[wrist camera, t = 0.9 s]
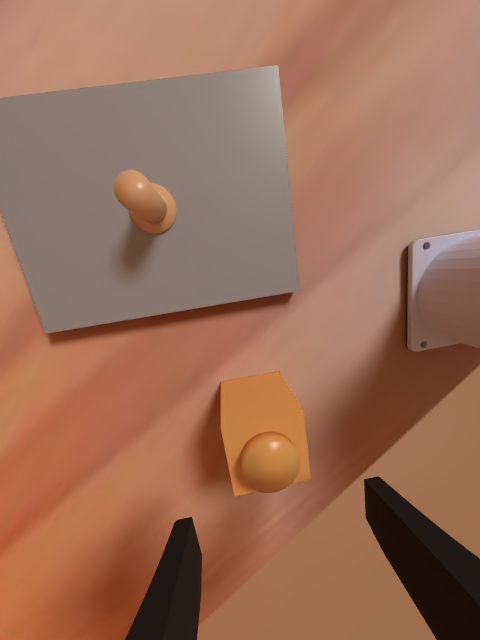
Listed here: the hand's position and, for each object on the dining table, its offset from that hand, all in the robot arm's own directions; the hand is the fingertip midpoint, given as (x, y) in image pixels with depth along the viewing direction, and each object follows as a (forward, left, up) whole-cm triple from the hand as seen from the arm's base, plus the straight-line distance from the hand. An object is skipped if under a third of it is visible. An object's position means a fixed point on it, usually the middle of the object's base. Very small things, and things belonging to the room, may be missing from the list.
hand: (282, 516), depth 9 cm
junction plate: (+4, -14, -8) cm, 17 cm away
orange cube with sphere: (0, 0, -8) cm, 8 cm away
